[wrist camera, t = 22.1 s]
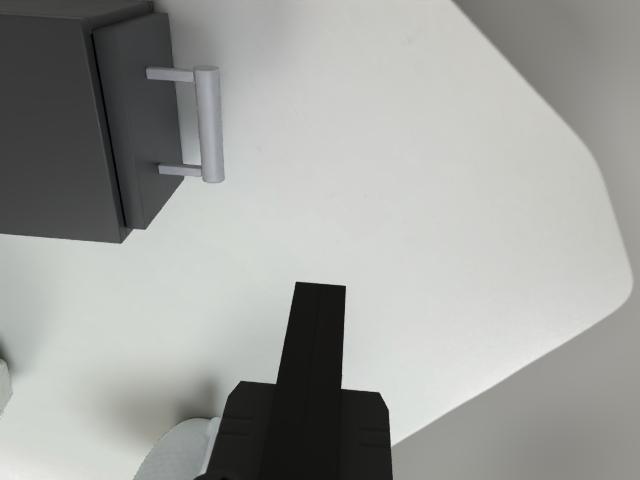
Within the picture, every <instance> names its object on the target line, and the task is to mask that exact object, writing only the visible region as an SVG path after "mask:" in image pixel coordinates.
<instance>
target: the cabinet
mask: <svg viewBox="0 0 640 480" xmlns="http://www.w3.org/2000/svg"><path fill="white" fill-rule="evenodd" d="M150 12H152V13H154V4H153V1H152V0H0V234H11V235H23V236H35V237H47V238H59V239H71V240H83V241H95V242H107V243H119V244H121V243H123V241H124V240H125V239H126V237H127V236H128V235H129V234H130V233H131V231H132V230H133V229H130V228H127V226H126V221H125V215H124V209H123V204H122V198H121V199H120V198H119V192H118V186H117V181H116V175H115V169H114V164H113V158H112V153H111V147H110V141H109V136H108V130H107V124H106V119H105V113H104V107H103V102H102V96H101V91H100V85H99V79H98V74H97V68H96V62H95V57H94V51H93V46H92V40H91V34H93V33H92V31H93V30H95V29H99V28H102V27H105V26H108V25H111V24H115V23H118V22H121V21H124V20H127V19H130V18H134V17H137V16H140V15H143V14H146V13H150Z"/></svg>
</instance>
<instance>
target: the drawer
mask: <svg viewBox="0 0 640 480" xmlns="http://www.w3.org/2000/svg"><path fill="white" fill-rule="evenodd" d="M92 33H93V34H91V40H92V46H93V51H94V57H95V62H96V68H97V69H99V72H100V78H101V84H102V90H103V95H104V101H105V107H106V112H107V118H108V124H109V129H110V135H111V141H112V147H113V148H112V149H111V153H112V158H113V164H114V169H115V175H116V181H117V186H118V192H119V198H120V199H121V198H122V204H123V209H124V215H125V221H126V226H127V228H130V229H142V230H146V228H147V227H148V226H149V224H150V223H151V222H152V220H153V219H154V218H155V216H156V215H157V214H158V213H159V211H160V210H161V209H162V207H163V206H164V205H165V203H166V202H167V201H168V199H169V198H170V197H171V195H172V194H173V193H174V192H175V190H176V189H177V188H178V186H179V185H180V184H181V182H182V181H183V180H184V176H195V177H203V181H204V182H207V183H220V182H222V181H224V179H225V176H224V157H223V139H222V120H221V101H220V83H219V68H218V67H215V66H207V65H204V66H197V67H195V68H194V70H191V69H177V68H173V61H172V50H171V40H170V30H169V20H168V14H167V13H152V12H150V13H146V14H143V15H140V16H137V17H134V18H130V19H127V20H124V21H121V22H118V23H115V24H111V25H108V26H105V27H102V28H99V29H95V30H93V31H92ZM175 81H185V82H194V81H195V88H196V101H197V113H198V126H199V139H200V152H201V164H202V165H189V164H183V161H182V151H181V141H180V131H179V121H178V111H177V101H176V91H175Z"/></svg>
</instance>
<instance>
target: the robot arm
mask: <svg viewBox="0 0 640 480" xmlns="http://www.w3.org/2000/svg"><path fill="white" fill-rule="evenodd" d="M345 294H346V286H341V285H329V284H318V283H306V282H296V284H295V290H294V295H293V300H292V305H291V310H290V315H289V320H288V326H287V331H286V336H285V341H284V346H283V351H282V356H281V362H280V367H279V372H278V377H277V382H276V384H269V383H258V382H247V381H240V383H239V384H238V385H237V386H236V387H235V389H234V390H233V391H232V392H231V393H230V395H229V396H228V398H227V402H226V405H225V409H224V412H223V417H222V419H221V422H220V425H219V429H218V433H217V436H216V439H215V442H214V446H213V449H212V452H211V456H210V459H209V463H208V466H207V469H206V473H204V474H202V475H199V476H197V477H196V478H195V479H193V480H393V475H392V458H391V441H390V424H389V410H388V408H387V406H386V404H385V402H384V400H383V398H382V396H381V395H380V393H379V392H368V391H358V390H347V389H341V382H342V360H343V338H344V316H345Z"/></svg>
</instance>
